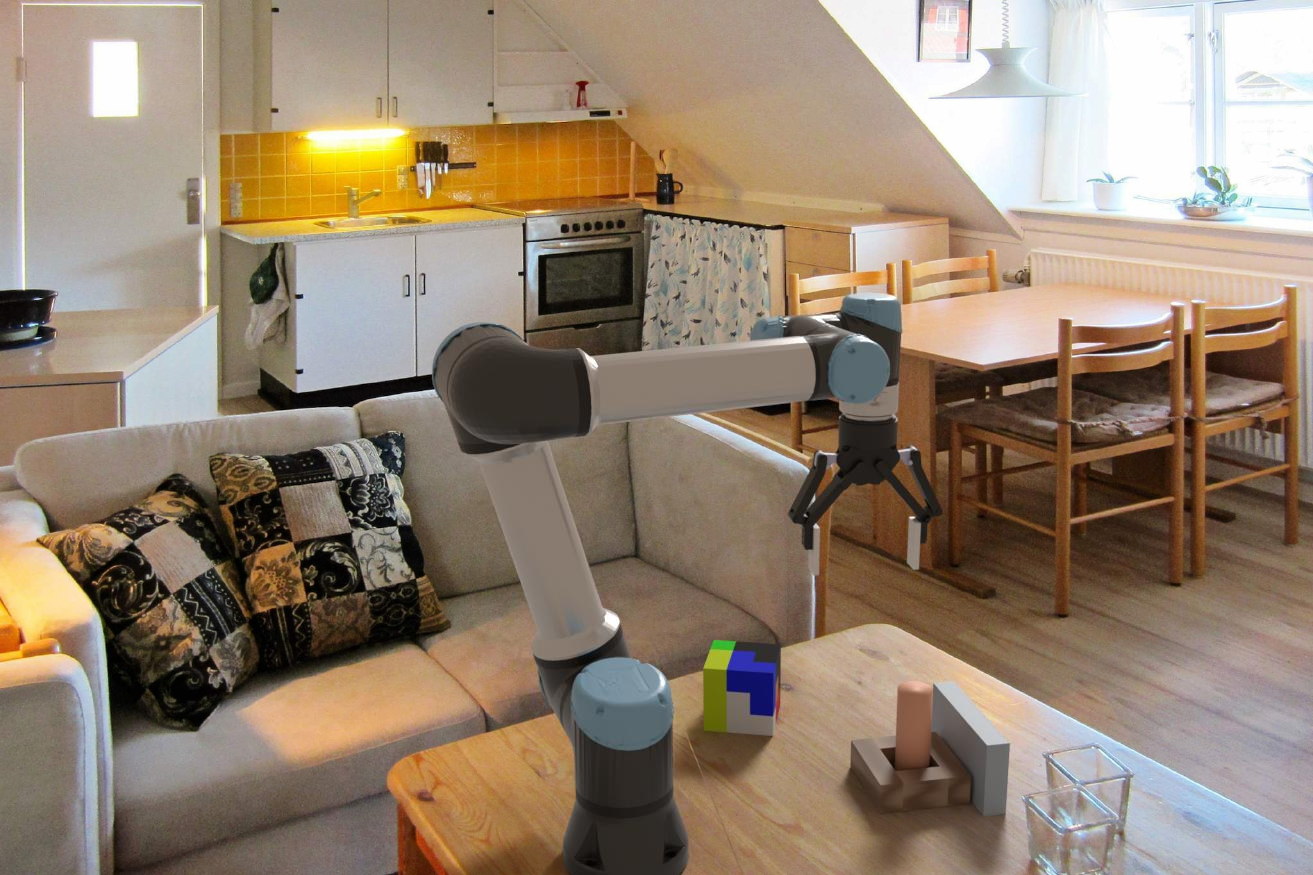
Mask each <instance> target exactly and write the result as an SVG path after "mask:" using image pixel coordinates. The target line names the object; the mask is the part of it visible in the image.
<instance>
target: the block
mask: <svg viewBox="0 0 1313 875" xmlns="http://www.w3.org/2000/svg"><path fill="white" fill-rule="evenodd" d="M895 748H896V735H889V736H888V735H887V736H880V737H870V738H869V737H867V738H860V739H859V738H857V739H851V740H850V763H849V764H850V768H851V770H852V772H853V774H854V775H855V776H856V778H857V780H858V781H859V783H860V784H861V786H862V788H863V789H864V791H865V792H866V794H867V796H868V797H869V799H870V801H871V802H872V804H873V806H874V807H875V808H876V810H877V811H878V812H877V813H879V815H881V814H889V813H897V812H898V813H899V812H905V811H906V812H907V811H916V810H917V811H918V810H924V809H933V808H934V809H935V808H944V807H945V808H946V807H954V806H961V805H962V806H964V805H970V801H971V800H970V785H971V775H970V774H969V773H968V771H967V770H966V769H965V768H964V766H963V765H962V764H961V763H960V761H959V760H958V759H957V758H956V756H955V755H954V754H953V753H952V751H951V750H950V749H949V748H948V746H947V745H946V744H945V743H944V741H943V740H942V739H941V738H940V736H939V735H938V734H937V733H936V732H931V751H930V768H921V769H911V770H901V771H895Z"/></svg>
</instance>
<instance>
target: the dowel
mask: <svg viewBox="0 0 1313 875" xmlns="http://www.w3.org/2000/svg"><path fill="white" fill-rule="evenodd" d="M896 691H897V693H896V695H897V696H896V697H897V698H896V723H895V736H896V748H895V771H901V770H911V769H921V768H930V751H931V727H932V703H933V686H931V685H929V684H928V683H926V682H923V681H916V680H909V681H908V680H907V681H903V682H900V684H898V685H897V690H896Z"/></svg>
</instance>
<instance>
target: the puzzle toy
mask: <svg viewBox="0 0 1313 875" xmlns="http://www.w3.org/2000/svg"><path fill="white" fill-rule="evenodd" d="M781 654H782V644H779V643H766V642H750V641H749V642H748V641H734V640H733V641H732V640H721V639H720V640H718V639H713V642H712V645H711V646H710V649H709V652H708V654H707V658H706V660H705V663H704V666H703V667H702V672H703V673H702V680H703V682H702V684H703V686H702V687H703V689H702V692H703V693H702V694H703V695H702V696H703V698H702V699H703V701H702V702H703V732H705V731H706V732H717V733H731V734H742V735H755V736H767V737H773V736H774V734H775V730H776V724H777V721H778V718H779V714H780V708H781V681H782V680H781V679H782V678H781V675H782V674H781V673H782V672H781V671H782V670H781V668H782V660H781V659H782V657H781V656H782V655H781Z"/></svg>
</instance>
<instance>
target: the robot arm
mask: <svg viewBox="0 0 1313 875" xmlns="http://www.w3.org/2000/svg"><path fill="white" fill-rule="evenodd" d="M839 309H840V311H836V312H833V313H832V312H830V313H818V314H799V315H798V314H797V315H783V314H779V315H778V316H773V317H765V318H761V319H759V320H757V321H756V322H755V323H754V324H753V326H752V329H751V332H750V337H749V340H745V341H733V342H726V343H725V342H724V343H713V344H704V345H703V344H702V345H691V346H683V347H672V348H662V349H651V350H643V351H641V350H640V351H631V352H630V351H629V352H620V353H609V354H601V355H589V354H588V353H586V352H585V351H584V350H582V349H581V348H579V347H577V348H564V349H562V348H561V349H554V348H553V349H552V348H551V349H550V348H549V349H548V348H542V347H536V346H533V345H529V344H528V343H526V342H525V341H524V339H523V338H522V337H521V336H520V334H518V333H517V332H516V331H514V330H513V329H512V328H510V327H507V326H505V325H503V324H499V323H495V322H494V323H493V322H488V321H477V322H471V323H468V324H465V325H462V326H460V327H458V328H456V329H455V330H452V331H451V333H449V334H448V335H447V336H446V337H445V338H444V339H443V340H442V342H441V343H440V345H439V346H438V348H437V350H436V352H435V354H434V357H433V360H432V366H431V367H432V368H431V369H432V370H431V376H432V377H431V380H432V385H433V388H434V391H435V393H436V395H437V396H438V398H439V399H440V401H441V402H442V403H443V404H444V407H445V411H446V413H447V415H448V418H449V422H450V424H451V428H452V429H453V430H452V431H453V433H454V435H455V438H456V441H457V443H458V446H459V449H460V452H461V454H462V455H463V456H465V457H468V458H471V459H473V460H475V461H477V463H478V464H479V467H480V468H479V469H480V471H481V473H482V475H483V479H484V481H485V485H486V487H487V488H486V489H487V490H488V493H489V495H490V498H491V502H492V504H493V507H494V510H495V514H496V516H497V518H498V521H499V524H500V528H501V529H502V530H501V531H502V532H503V536H504V539H505V542H506V544H507V547H508V550H509V553H510V556H511V558H512V561H513V564H514V568H515V570H516V572H517V573H516V574H517V576H518V578H519V582H520V584H521V588H522V590H523V593H524V596H525V598H526V602H527V605H528V607H529V611H530V612H531V616H532V618H533V621H534V624H535V626H536V627H535V628H536V633H535V634H534V635H533V637H532V639H531V641H530V650H531V653H532V655H533V659H534V661H535V664H536V668H537V675H538V684H539V687H540V690H541V692H542V694H543V697H544V699H545V700H546V702H547V704H548V705H549V706H550V707H551V709H552V710H553V712H554V714H555V715H556V717H557V719H558V721H559V723H560V725H561V726H562V728H563V730H564V732H565V734H566V736H567V738H568V739H569V741H570V743H571V746H572V751H573V758H574V759H573V760H574V761H573V762H574V763H573V765H574V787H575V801H574V804H573V807H572V811H571V812H570V817H569V820H568V823H567V826H566V829H565V833H564V836H563V839H562V840H563V841H562V858H563V866H564V868H565V870H566V871H567V873H568V874H569V875H680V874H682V872H683V871H684V870H685V868H686V867H687V865H688V862H689V856H690V855H689V854H690V852H689V851H690V850H689V835H688V833H687V829H686V827H685V824H684V821H683V819H682V816H681V813H680V811H679V808H678V806H677V803H676V800H675V797H674V745H673V744H674V740H673V739H674V735H673V734H674V732H673V731H674V730H673V729H674V728H673V726H674V725H673V722H674V715H675V714H674V713H675V708H674V701H673V698H672V690H671V684H670V683H669V680H668V679H667V677H666V676H665V674H664V673H663V672H661V671H660V669H658V668H657V667H656V666H654V665H652V664H650V663H648V662H646V663H642V662H641V660H639V659H636V658H633V657H632V655H631V652H630V648H629V646H628V642H627V639H626V636H625V634H624V629H623V628H622V624H621V621H620V618H619V615H618V614H616V613H615V612H614V611H613V610H610V609H607V608H605V607H603V604H602V602H601V599H600V596H599V593H598V590H597V589H598V588H597V587H596V584H595V580H594V578H593V573H592V572H591V568H590V565H589V562H588V559H587V557H586V552H585V550H584V547H583V544H582V540H581V538H580V534H579V532H578V529H577V528H578V527H577V526H576V522H575V519H574V517H573V513H572V511H571V508H570V505H569V501H568V499H567V495H566V492H565V489H564V487H563V482H562V480H561V477H560V474H559V471H558V468H557V464H556V462H555V458H554V454H553V453H552V449H551V446H550V444H549V441H555V440H562V439H563V440H564V439H570V438H579V437H586V436H590V435H591V433H592V432H593V431H594V430H595V428H596V427H598V426H602V425H609V424H610V425H611V424H619V423H628V422H635V421H644V420H653V419H661V418H662V419H664V418H670V417H678V416H688V415H694V414H695V415H697V414H704V413H714V412H722V411H729V410H739V409H748V408H755V407H756V408H757V407H764V406H766V407H767V406H774V405H781V404H790V403H798V402H807V401H808V402H809V401H818V400H827V399H837V400H838V401H839V402H838V403H839V404H838V406H839V407H838V408H839V411H840V413H842V414H840V416H839V417H838V439H837V440H838V446H837V449H836V451H835V453H834V452H833V453H832V452H823V451H822V450H821V449H817V450H815V451H814V453H813V458H812V463H811V464H812V466H811V468H810V470H809V471H808V474H807V476H806V477H805V479H804V481H803V483H802V485H801V487H800V489H799V491H798V493H797V495H796V497H795V499H794V500H793V502H792V504H791V507H790V508H789V510H788V512H787V516H788V517H789V519H790V520H791V522H792V523H793V524H794V525H795V524H796V525H801V545H802V547H803V549H804V550H805V551H808V565H807V567H808V570H809V571H810V573H811V574H812V575H813V576H820V552H821V551H820V548H821V547H820V544H821V539H820V538H821V528H820V526H819V525H818V524H817V523H818V521H820V519H821V518H823V515H824V514H826V512H827V511H829V510H828V509H829V508H831V506H833V504H834V503H835V502H836V501H837V499H838V498H839V497H840V496H841V495H842V493H843V492H844V491H846V490H847V489H849V487H850V486H852V485H856V486H866V485H868V484H869V485H873V486H875V485H876V486H877V485H878V486H879V485H881V484H882V483H883V482H884V481H886V483H888V485H889V486H890V487H891V488H892V489H893V490H894V491H895V493H896V494H897V495H898V496H899V498H901V500H902V501H903V502H904V503H905V505H906V506H907V507H908V508H909V509H910V510H911V511H912V512H913V514H914V515H915V516H908V525H907V526H908V527H907V528H908V530H907V531H908V532H907V533H908V534H907V550H906V551H907V553H906V556H907V557H906V563H907V565H909V566H910V568H911V569H912V570H914V571H915V570H920V555H921V554H920V549H921V544H926V543H927V541H928V524H929V523H930V522H931V521H932V518H934V517H940V516H941V515H942V514H943V508H942V507H941V504H940V503H939V500H938V498H937V496H936V494H935V492H934V489H933V488H932V484H931V483H930V481H929V479H928V477H927V475H926V473H925V470H924V468H923V466H922V453H921V451H920V450H918V448H916V447H915V446H914V445H908V446H907V447H906V448H905V449H904V448H903V449H899V450H898V447H897V446H898V430H899V428H898V424H899V422H898V421H899V420H898V417H897V416H896V413H898V411H899V395H900V393H899V392H900V372H901V371H900V366H901V346H902V345H901V344H902V343H901V342H902V334H903V321H902V318H903V317H902V306H901V302H900V300H899V299H898V297H896V296H895V295H891V294H888V293H881V292H879V293H878V292H857V293H854V294H853V293H850V294H846V295H845V296H844V297H843V298H842V301H841V306H840V308H839ZM900 460H901V461H902V463H903V464H904V465H905V466H907V467H908V469H909V471H910V473H911V476H912V478H913V480H914V483H915V485H916V486H917V488H918V490H919V492H920V496H921V497H922V499H923V501H924V503H925V506H922V505H921V504H920V502H918V501H917V499H916V498H915V497H914V496H913V495H912V494H911V493H910V491H909V490H908V489H907V488H906V486H904V484H903V483H902V481H901V480H900V479H899V477H898V476H896V474H894V472H893V470H894V469H895V467H896V466H897V465H898V464H899V462H900ZM833 464H836V465H837V467H838V468H839V469H838V471H837V472H835V474H834V475H833V477H832V480H831V481H830V482H829V483H828V485H826V487H825V488H824V489H823V490H822V491H821V492H820V494H819V495H818V496H817V497H816V499H815V500H814V501H813V502H812V500H813V498H814V496H815V495H816V493H817V490H818V489H819V487H820V484H821V483H822V482H823V479H824V477H825V474H826V472H827V470H830V469H831V468H832V465H833Z"/></svg>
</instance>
